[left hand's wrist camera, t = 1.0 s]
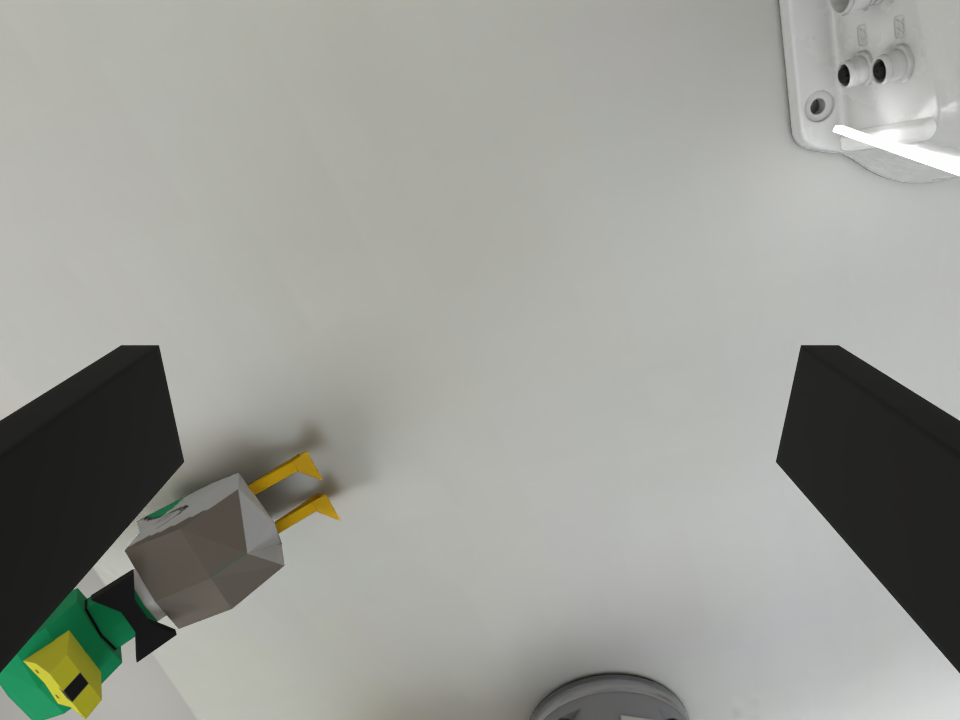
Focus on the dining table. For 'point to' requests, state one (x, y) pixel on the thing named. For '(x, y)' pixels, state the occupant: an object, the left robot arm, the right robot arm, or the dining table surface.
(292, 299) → the dining table surface
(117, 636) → the toy
